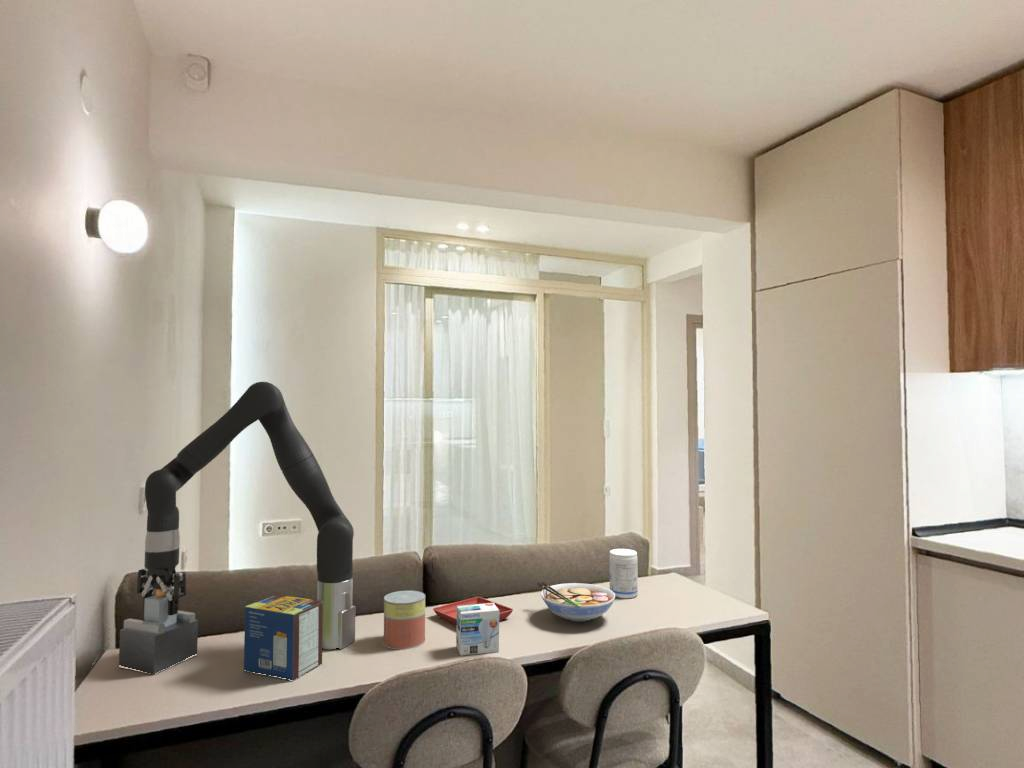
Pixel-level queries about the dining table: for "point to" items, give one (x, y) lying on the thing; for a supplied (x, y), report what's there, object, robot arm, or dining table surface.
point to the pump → (158, 609)
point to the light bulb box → (477, 629)
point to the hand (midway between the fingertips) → (160, 612)
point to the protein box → (283, 636)
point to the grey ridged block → (157, 643)
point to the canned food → (404, 619)
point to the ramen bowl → (577, 600)
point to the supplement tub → (623, 573)
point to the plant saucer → (450, 610)
